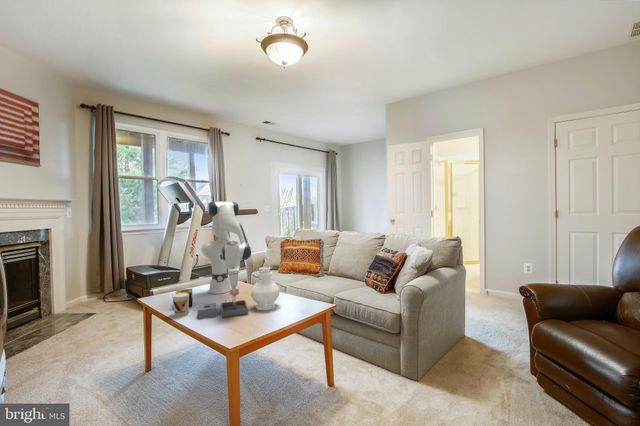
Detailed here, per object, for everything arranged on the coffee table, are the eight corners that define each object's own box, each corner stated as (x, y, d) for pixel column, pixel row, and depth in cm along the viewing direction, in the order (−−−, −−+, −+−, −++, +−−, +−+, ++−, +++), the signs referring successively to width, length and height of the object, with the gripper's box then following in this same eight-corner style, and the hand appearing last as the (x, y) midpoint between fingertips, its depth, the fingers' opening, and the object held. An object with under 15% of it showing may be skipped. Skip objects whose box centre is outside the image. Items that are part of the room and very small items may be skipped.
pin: (229, 309, 189) (229, 289, 189) (238, 308, 190) (238, 289, 190) (230, 311, 187) (230, 290, 186) (238, 310, 188) (238, 290, 188)
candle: (175, 309, 195) (174, 294, 194) (176, 304, 204) (175, 290, 204) (192, 307, 199) (192, 291, 198) (192, 302, 208) (192, 288, 208)
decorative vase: (274, 312, 185) (272, 271, 184) (246, 310, 189) (245, 270, 188) (283, 302, 203) (282, 265, 202) (258, 301, 206) (257, 265, 205)
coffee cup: (171, 318, 180) (170, 297, 179) (175, 312, 189) (174, 293, 189) (188, 316, 182) (187, 296, 181) (191, 311, 191) (190, 292, 190)
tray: (221, 308, 195) (221, 302, 194) (245, 305, 199) (245, 300, 199) (221, 318, 178) (221, 312, 177) (248, 314, 182) (247, 308, 182)
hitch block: (199, 313, 187) (198, 305, 186) (216, 311, 190) (216, 303, 190) (198, 318, 177) (197, 310, 177) (216, 316, 180) (216, 308, 180)
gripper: (226, 265, 196) (227, 286, 197) (228, 271, 177) (228, 295, 178) (237, 264, 199) (237, 285, 199) (239, 270, 179) (240, 294, 180)
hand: (233, 290), depth 188 cm, fingers open, 8 cm apart
